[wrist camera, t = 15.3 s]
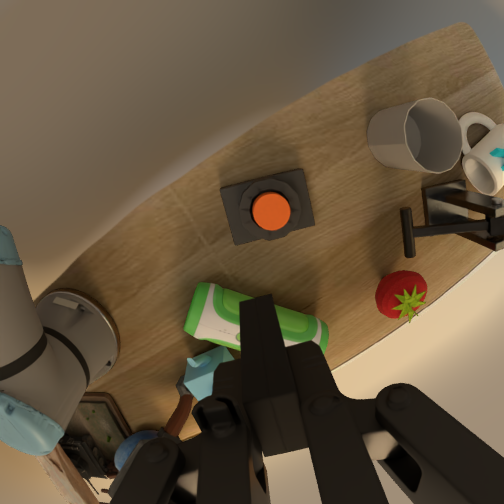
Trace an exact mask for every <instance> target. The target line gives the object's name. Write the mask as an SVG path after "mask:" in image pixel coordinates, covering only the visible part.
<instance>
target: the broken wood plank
mask: <svg viewBox="0 0 504 504" xmlns="http://www.w3.org/2000/svg"><path fill="white" fill-rule="evenodd" d="M35 457H36V458H37V460H38V461H39V463H40V464H41V466H42V467H43V469H44V470H45V471H46V473H47V475H48V476H49V478H50V479H51V481H52V482H53V484H54V485H55V487H56V488H57V490H58V491H59V492H60V494H61V495H62V496H63V498H64V499H65V500H66V501H67V503H68V504H99V502H98V500H97V499H96V497H95V496H94V494H93V493H92V491H91V490H90V488H89V487H88V485H87V484H86V482H85V481H84V480H83V478H82V476H81V475H80V474H79V472H78V471H77V469H76V468H75V466H74V465H73V463H72V462H71V460H70V459H69V458H68V456H67V455H66V454H65V452H64V450H63V449H62V447H61V446H60V444H59V443H57V444H56V446H55V448H54V449H53V451H52V452H50V453H49V454H47V455H43V456H36V455H35Z"/></svg>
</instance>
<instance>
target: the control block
mask: <svg viewBox="0 0 504 504" xmlns="http://www.w3.org/2000/svg"><path fill="white" fill-rule="evenodd" d="M265 192H275V193H278V194H279V195H281V196H282V197H283V198H285V199H286V201H287V202H288V204H289V206H290V217H289V220H288V222H287V223H286V224H285V225H284V226H283V227H281V228H280V229H277V230H266V229H263V228H262V227H260V226H259V225H258V224H257V223H256V221H255V219H254V216H253V212H252V207H253V203H254V201H255V199H256V198H257V197H258V196H259V195H261V194H263V193H265ZM220 193H221V197H222V200H223V204H224V207H225V211H226V215H227V218H228V222H229V226H230V229H231V233H232V237H233V240H234V244H235V246H236V245H240V244H244V243H248V242H252V241H256V240H259V239H265V240H274V239H278V238H282V237H285V236H286V235H287V234H288V233H289V232H291V231H295V230H298V229H302V228H306V227H310V226H314V225H315V222H314V217H313V213H312V208H311V203H310V199H309V194H308V190H307V185H306V181H305V176H304V172H303V169H294V170H290V171H286V172H282V173H277V174H273V175H269V176H265V177H261V178H257V179H253V180H249V181H245V182H241V183H237V184H234V185H230V186H226V187H222V188H221V189H220Z"/></svg>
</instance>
